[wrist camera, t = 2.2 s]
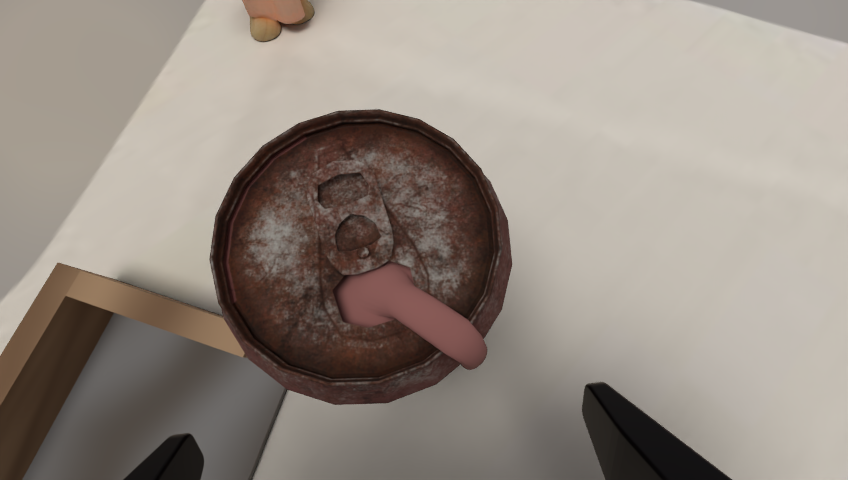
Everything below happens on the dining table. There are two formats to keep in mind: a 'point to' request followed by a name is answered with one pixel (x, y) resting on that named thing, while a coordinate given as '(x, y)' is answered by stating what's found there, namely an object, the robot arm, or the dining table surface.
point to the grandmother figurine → (275, 16)
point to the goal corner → (126, 384)
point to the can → (361, 257)
